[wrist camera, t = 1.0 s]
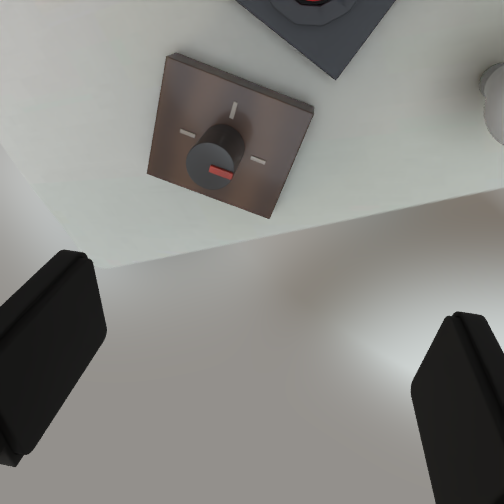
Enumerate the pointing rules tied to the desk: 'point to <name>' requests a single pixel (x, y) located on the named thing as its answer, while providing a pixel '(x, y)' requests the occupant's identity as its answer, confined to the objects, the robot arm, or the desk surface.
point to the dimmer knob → (215, 157)
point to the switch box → (322, 26)
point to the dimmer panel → (236, 116)
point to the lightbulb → (494, 100)
